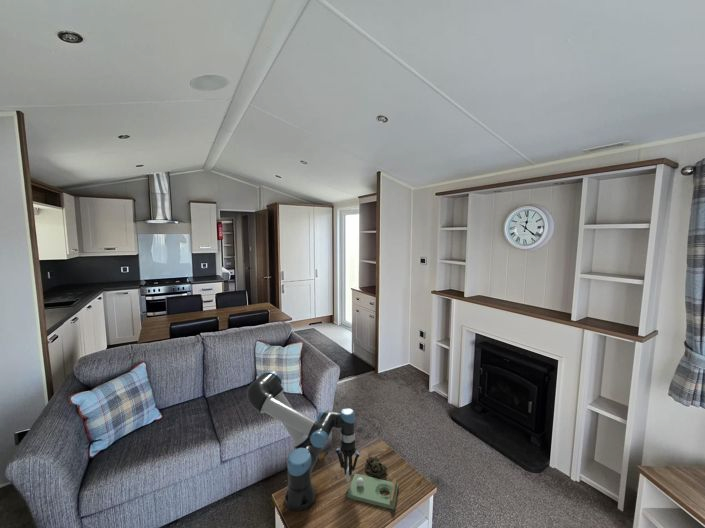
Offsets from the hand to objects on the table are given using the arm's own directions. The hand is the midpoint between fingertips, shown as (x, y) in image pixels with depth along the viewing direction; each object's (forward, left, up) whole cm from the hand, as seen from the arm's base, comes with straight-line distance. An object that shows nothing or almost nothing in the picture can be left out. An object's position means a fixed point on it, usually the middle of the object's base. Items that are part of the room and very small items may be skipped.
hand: (348, 480), depth 167 cm
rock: (+12, +15, -4) cm, 19 cm away
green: (+14, 0, -4) cm, 14 cm away
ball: (+7, 0, 0) cm, 7 cm away
